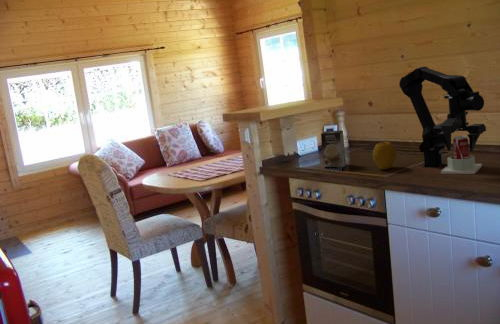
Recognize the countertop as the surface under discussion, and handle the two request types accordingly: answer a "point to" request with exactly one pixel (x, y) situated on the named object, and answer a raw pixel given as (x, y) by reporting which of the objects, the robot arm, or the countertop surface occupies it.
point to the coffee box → (333, 148)
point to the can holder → (461, 166)
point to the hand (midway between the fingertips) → (460, 150)
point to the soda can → (461, 147)
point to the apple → (384, 155)
